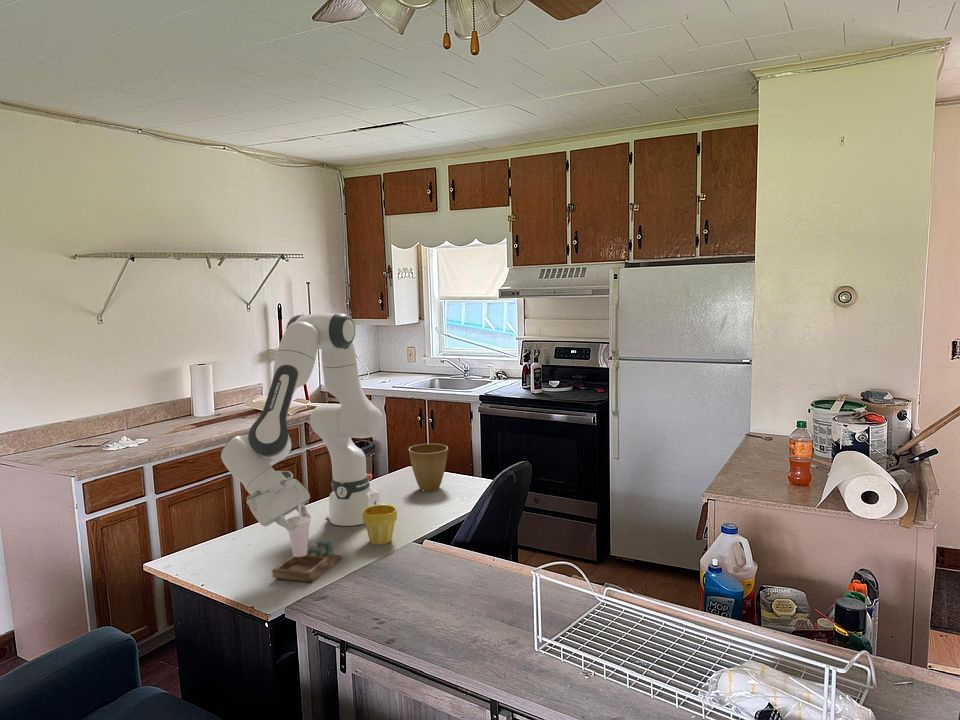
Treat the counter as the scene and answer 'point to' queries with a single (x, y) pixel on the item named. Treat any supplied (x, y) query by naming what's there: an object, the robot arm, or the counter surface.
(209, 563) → the counter surface
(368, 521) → the plant pot
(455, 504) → the counter surface
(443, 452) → the plant pot
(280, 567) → the brown wooden tray
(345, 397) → the robot arm
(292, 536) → the smoothie
